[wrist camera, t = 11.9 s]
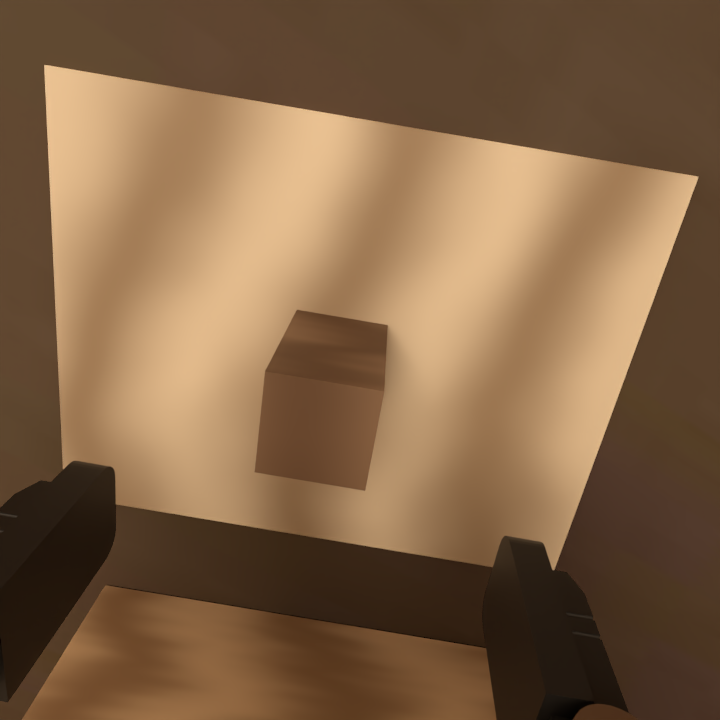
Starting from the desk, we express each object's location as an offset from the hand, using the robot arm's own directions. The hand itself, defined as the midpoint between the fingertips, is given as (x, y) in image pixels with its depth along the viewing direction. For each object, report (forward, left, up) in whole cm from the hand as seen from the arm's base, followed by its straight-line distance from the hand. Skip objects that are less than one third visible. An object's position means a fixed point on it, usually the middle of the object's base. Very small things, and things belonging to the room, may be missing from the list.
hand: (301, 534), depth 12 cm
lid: (0, 0, -10) cm, 10 cm away
